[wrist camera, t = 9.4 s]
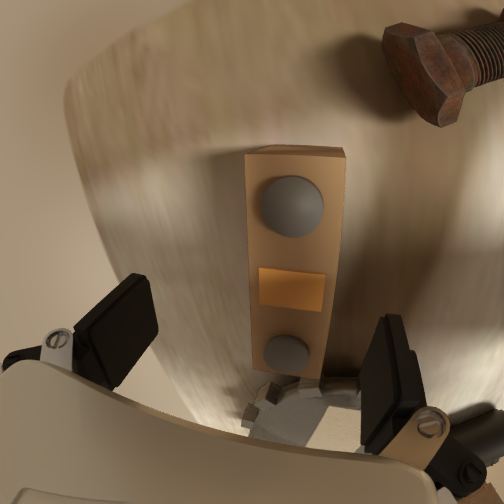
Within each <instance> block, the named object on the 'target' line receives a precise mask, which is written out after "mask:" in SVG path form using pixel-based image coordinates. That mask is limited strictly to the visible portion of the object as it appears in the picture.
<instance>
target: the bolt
mask: <svg viewBox="0 0 504 504" xmlns="http://www.w3.org/2000/svg"><path fill="white" fill-rule="evenodd" d="M382 47H383V51H384V53H385V56H386V59H387V61H388V64H389V67H390V69H391V71H392V73H393V75H394V77H395V79H396V81H397V82H398V84H399V86H400V88H401V90H402V92H403V93H404V95H405V96H406V98H407V99H408V101H409V102H410V104H411V105H412V106H413V108H414V109H415V110H416V112H417V113H418V114H419V115H420V117H421V118H423V119H424V120H425V121H427V122H429V123H431V124H433V125H435V126H438V127H440V128H442V127H445V126H447V125H450V124H452V123H454V122H457V119H458V116H459V112H460V109H461V105H462V102H463V98H464V95H465V93H466V92H469V91H471V90H472V89H473V88H474V87H478V86H481V85H483V84H486V83H488V82H493V81H496V80H498V79H501V78H504V8H503V10H502V12H501V15H500V18H499V21H498V22H496V23H491V24H487V25H480V26H477V27H474V28H469V29H463V30H459V31H454V32H450V33H446V34H443V33H441V34H436V35H435V34H434V33H433V31H430V30H427V29H424V28H420V27H417V26H413V25H410V24H406V23H402V22H401V23H398V24H395V25H392V26H389V27H386V28H385V31H384V34H383V40H382Z"/></svg>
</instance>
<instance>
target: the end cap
mask: <svg viewBox="0 0 504 504" xmlns="http://www.w3.org/2000/svg"><path fill="white" fill-rule="evenodd" d="M448 434H449V435H451V436H452V437H453V438H454V439H456V440H457V441H458V442H460V443H461V444H462V445H463V446H465V447H466V448H467V449H469V450H470V451H471V452H472V453H474V454H475V455H476V456H478V457H479V458H480V459H481V460H482V461H483V462H484V464H485V466H486V467H489V466H493V464H496V463H497V462H498V461H499V459H500V457H503V456H504V411H503V410H497V409H495V410H493V411H491V412H489V413H486V414H484V415H482V416H480V417H477V418H475V419H472V420H470V421H468V422H465V423H462V424H460V425H457V426H455V427H452V428H450V430H449V433H448Z"/></svg>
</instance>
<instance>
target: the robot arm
mask: <svg viewBox="0 0 504 504" xmlns="http://www.w3.org/2000/svg"><path fill="white" fill-rule="evenodd" d="M73 328H74V330H75V332H74V333H73V334H72V332H71V331H70V330H68V329H65V328H58V329H55V330H53V331H51V332H49V333H48V334H47V335H46V336H45V337H44V339H43V343H42V345H41V346H36V347H31V348H26V349H22V350H17V351H14V352H11V353H9V354H8V355H7V357H6V358H5V359H4V361H3V364H2V365H1V363H0V504H504V503H503V501H502V500H501V498H500V496H499V495H498V493H497V492H496V490H495V488H494V487H493V485H492V484H491V482H490V483H488V484H487V483H486V481H485V479H486V476H487V470H486V466H485V464H484V462H483V461H482V460H481V459H480V458H479V457H478V456H476V455H475V454H474V453H472V452H471V451H470V450H469V449H467V448H466V447H465V446H463V445H462V444H461V443H460V442H458V441H457V440H456V439H454V438H453V437H452V436H451V435H449V434H448V433H449V430H450V422H449V419H448V417H447V416H446V414H445V413H444V412H443V411H442V410H440V409H438V408H436V407H431V406H428V407H427V403H426V398H425V392H424V387H423V382H422V378H421V373H420V368H419V364H418V360H417V356H416V353H415V351H413V350H410V349H409V345H408V340H407V336H406V332H405V329H404V325H403V321H402V317H401V316H400V315H395V314H386V315H385V317H380V319H379V322H378V325H377V327H376V330H375V333H374V336H373V338H372V341H371V344H370V346H369V349H368V352H367V354H366V357H365V359H364V362H363V364H362V367H361V374H360V376H361V433H360V444H361V445H363V446H364V453H372V455H370V454H362V453H352V452H343V451H332V450H323V449H314V448H307V447H300V446H293V445H287V444H281V443H275V442H270V441H265V440H260V439H255V438H250V437H246V436H241V435H237V434H233V433H229V432H225V431H221V430H218V429H214V428H210V427H207V426H203V425H200V424H197V423H193V422H190V421H187V420H184V419H181V418H178V417H175V416H172V415H169V414H166V413H164V412H161V411H158V410H156V409H153V408H150V407H148V406H145V405H143V404H140V403H138V402H135V401H133V400H131V399H128V398H126V397H123V396H121V395H119V394H117V393H115V392H112V391H113V389H114V388H115V387H118V386H119V385H120V384H121V383H122V381H123V380H124V379H125V377H126V376H127V375H128V373H129V372H130V370H131V369H132V368H133V366H134V365H135V364H136V362H137V361H138V360H139V358H140V357H141V356H142V354H143V353H144V352H145V350H146V349H147V348H148V346H149V345H150V344H151V342H152V341H153V340H154V338H155V337H156V336H157V334H158V323H157V318H156V314H155V309H154V304H153V299H152V293H151V288H150V283H149V280H147V278H146V276H144V275H140V274H136V273H132V274H130V275H129V276H128V277H127V278H126V279H125V280H123V281H122V282H121V283H120V284H119V285H118V286H117V287H116V288H115V289H114V290H112V291H111V292H110V293H109V294H108V295H107V296H106V297H105V298H104V299H102V300H101V301H100V302H99V303H98V304H97V305H96V306H95V307H94V308H93V309H91V311H89V312H88V313H87V314H86V315H85V316H84V317H83V318H82V319H81V320H80V321H79V322H78V323H77V324H76V325H75V326H74V327H73ZM100 385H101V386H100Z"/></svg>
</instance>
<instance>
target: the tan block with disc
mask: <svg viewBox="0 0 504 504" xmlns="http://www.w3.org/2000/svg"><path fill="white" fill-rule="evenodd" d="M244 157H245V185H246V211H247V237H248V263H249V288H250V312H251V336H252V359H253V369H256V370H261V371H267V372H273V373H279V374H285V375H292V376H299V377H306V378H314V379H320V375H321V370H322V365H323V360H324V355H325V349H326V344H327V338H328V332H329V326H330V320H331V314H332V307H333V300H334V293H335V286H336V278H337V270H338V262H339V253H340V243H341V232H342V221H343V208H344V193H345V173H346V156H345V153H344V151H343V148H342V147H327V146H308V145H272V146H268V147H265V148H262V149H259V150H256V151H253V152H250V153H247V154H244Z"/></svg>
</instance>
